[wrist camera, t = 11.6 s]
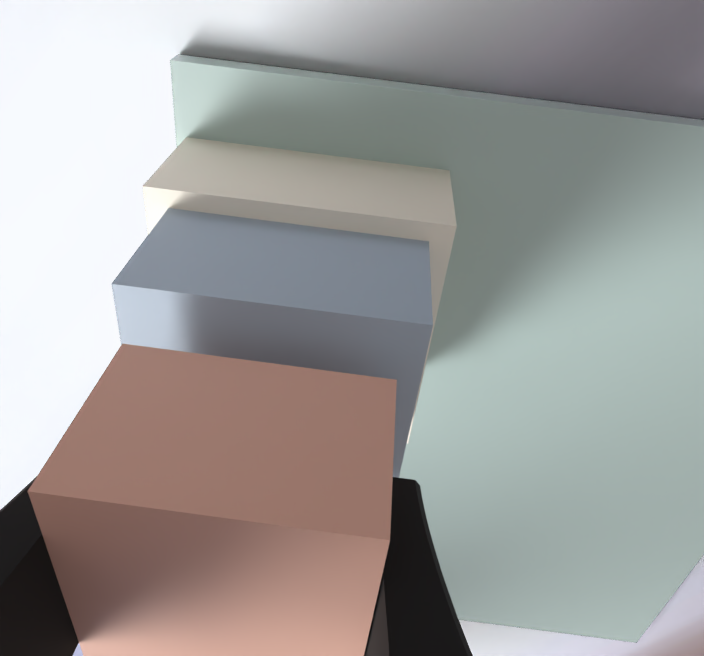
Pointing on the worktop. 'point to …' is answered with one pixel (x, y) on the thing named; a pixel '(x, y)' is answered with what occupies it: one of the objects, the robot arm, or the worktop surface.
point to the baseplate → (531, 331)
